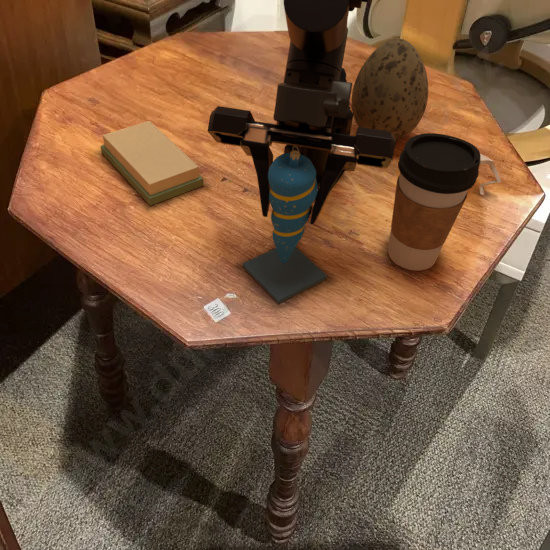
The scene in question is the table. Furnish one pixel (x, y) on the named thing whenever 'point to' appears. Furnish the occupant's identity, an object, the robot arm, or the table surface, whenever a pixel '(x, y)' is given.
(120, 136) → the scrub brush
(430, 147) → the coffee cup
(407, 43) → the decorative egg
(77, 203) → the table surface
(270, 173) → the ornament
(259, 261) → the mat
